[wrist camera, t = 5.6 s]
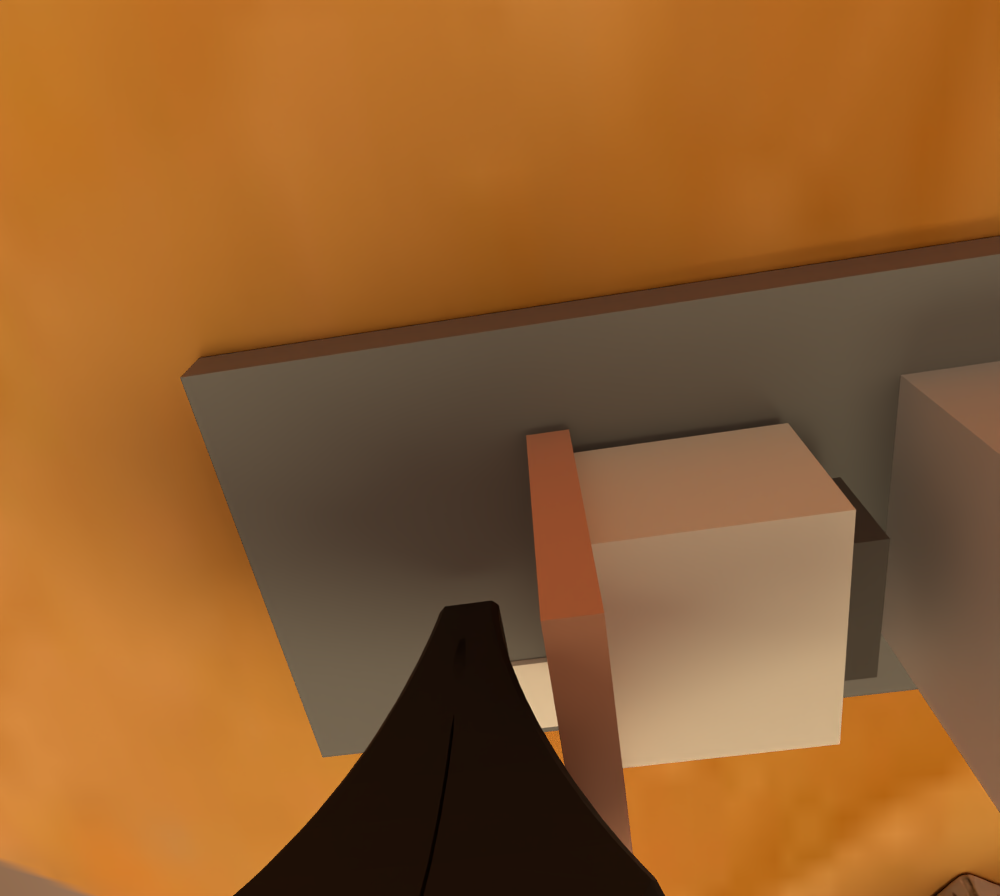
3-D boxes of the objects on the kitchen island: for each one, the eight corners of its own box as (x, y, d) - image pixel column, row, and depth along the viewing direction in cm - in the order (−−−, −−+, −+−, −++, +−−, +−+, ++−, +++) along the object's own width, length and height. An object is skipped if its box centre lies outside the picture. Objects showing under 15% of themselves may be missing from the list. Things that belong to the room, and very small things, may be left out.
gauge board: (1083, 223, 14) (1456, 332, 8) (1002, 645, 18) (1210, 890, 13) (199, 358, 15) (33, 530, 10) (330, 725, 19) (267, 980, 14)
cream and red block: (833, 392, 14) (1002, 562, 9) (818, 694, 17) (936, 930, 13) (525, 435, 14) (540, 620, 10) (571, 723, 18) (597, 962, 13)
